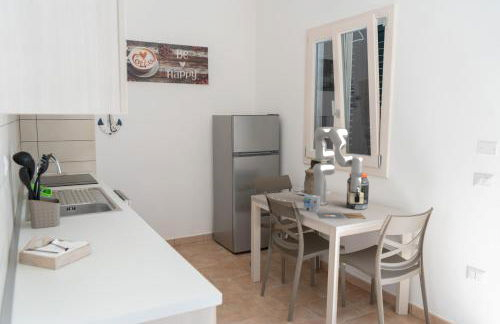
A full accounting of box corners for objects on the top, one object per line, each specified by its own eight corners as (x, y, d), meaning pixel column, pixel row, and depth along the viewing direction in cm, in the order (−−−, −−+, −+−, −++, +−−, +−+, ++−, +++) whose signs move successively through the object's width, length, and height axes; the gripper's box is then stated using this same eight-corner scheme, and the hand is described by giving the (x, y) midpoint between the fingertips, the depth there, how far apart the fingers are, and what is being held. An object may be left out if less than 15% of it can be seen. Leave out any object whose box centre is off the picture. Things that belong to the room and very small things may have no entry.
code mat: (315, 213, 273) (315, 212, 273) (339, 213, 273) (339, 213, 273) (319, 218, 259) (319, 218, 259) (344, 219, 259) (344, 218, 259)
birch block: (347, 201, 268) (348, 191, 267) (360, 201, 268) (361, 191, 267) (350, 203, 262) (350, 193, 261) (363, 203, 262) (363, 193, 261)
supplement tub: (367, 205, 298) (369, 172, 295) (368, 210, 283) (369, 175, 280) (346, 204, 302) (347, 171, 299) (345, 209, 287) (347, 174, 284)
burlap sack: (324, 198, 324) (325, 160, 320) (296, 195, 334) (297, 158, 330) (331, 192, 346) (332, 157, 342) (304, 190, 356) (305, 155, 352)
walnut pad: (343, 214, 272) (343, 213, 272) (360, 214, 273) (360, 213, 272) (348, 218, 260) (348, 217, 260) (366, 218, 261) (366, 217, 261)
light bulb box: (302, 210, 282) (303, 195, 280) (306, 208, 287) (306, 194, 286) (317, 212, 277) (317, 197, 275) (320, 210, 282) (320, 195, 281)
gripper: (347, 173, 271) (346, 198, 274) (354, 177, 254) (353, 204, 256) (358, 173, 272) (357, 198, 274) (366, 177, 254) (364, 204, 256)
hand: (355, 201), depth 265 cm, fingers closed on birch block, 6 cm apart
